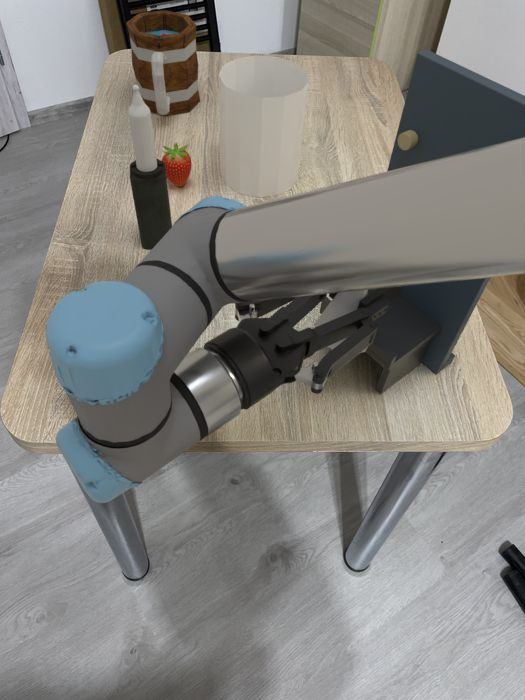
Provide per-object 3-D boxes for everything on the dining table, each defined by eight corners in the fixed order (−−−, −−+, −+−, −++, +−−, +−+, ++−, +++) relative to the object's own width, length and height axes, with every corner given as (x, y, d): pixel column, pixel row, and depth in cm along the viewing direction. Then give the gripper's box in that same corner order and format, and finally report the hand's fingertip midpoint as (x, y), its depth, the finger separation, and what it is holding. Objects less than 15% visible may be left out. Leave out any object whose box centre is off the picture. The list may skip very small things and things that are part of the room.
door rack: (387, 413, 69) (493, 163, 41) (303, 337, 76) (344, 80, 48) (452, 362, 75) (585, 111, 46) (368, 295, 82) (439, 44, 54)
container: (297, 154, 105) (308, 58, 91) (298, 199, 96) (310, 100, 82) (223, 150, 105) (222, 53, 91) (217, 195, 96) (215, 95, 82)
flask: (308, 348, 62) (319, 286, 54) (318, 304, 66) (330, 240, 58) (370, 361, 61) (391, 300, 53) (377, 315, 65) (397, 253, 58)
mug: (140, 84, 120) (130, 8, 108) (201, 85, 120) (198, 11, 109) (129, 131, 108) (117, 52, 96) (197, 132, 108) (193, 54, 97)
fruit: (181, 197, 95) (177, 156, 89) (158, 187, 97) (152, 146, 90) (199, 182, 98) (196, 141, 92) (176, 172, 100) (172, 132, 93)
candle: (173, 248, 87) (156, 94, 67) (141, 249, 86) (114, 95, 67) (172, 227, 90) (155, 75, 70) (141, 229, 89) (115, 75, 70)
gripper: (175, 350, 58) (330, 260, 68) (275, 458, 51) (433, 340, 60) (169, 302, 52) (340, 211, 62) (281, 417, 45) (455, 293, 55)
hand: (385, 275), depth 61 cm, fingers closed on flask, 3 cm apart
